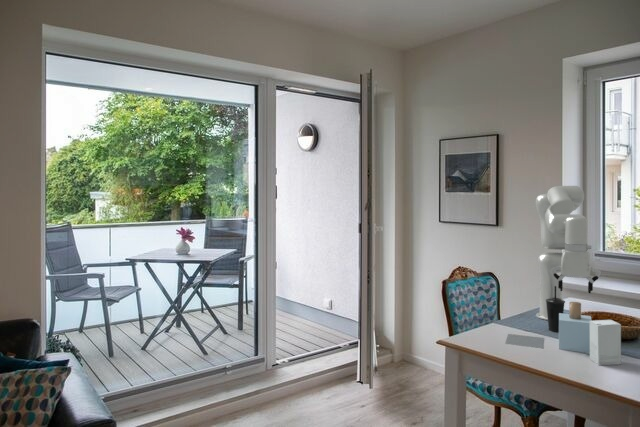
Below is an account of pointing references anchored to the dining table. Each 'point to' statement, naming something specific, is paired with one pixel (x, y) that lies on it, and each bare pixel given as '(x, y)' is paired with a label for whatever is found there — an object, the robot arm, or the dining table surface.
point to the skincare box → (605, 342)
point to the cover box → (574, 330)
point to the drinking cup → (554, 312)
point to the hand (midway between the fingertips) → (575, 291)
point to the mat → (525, 341)
